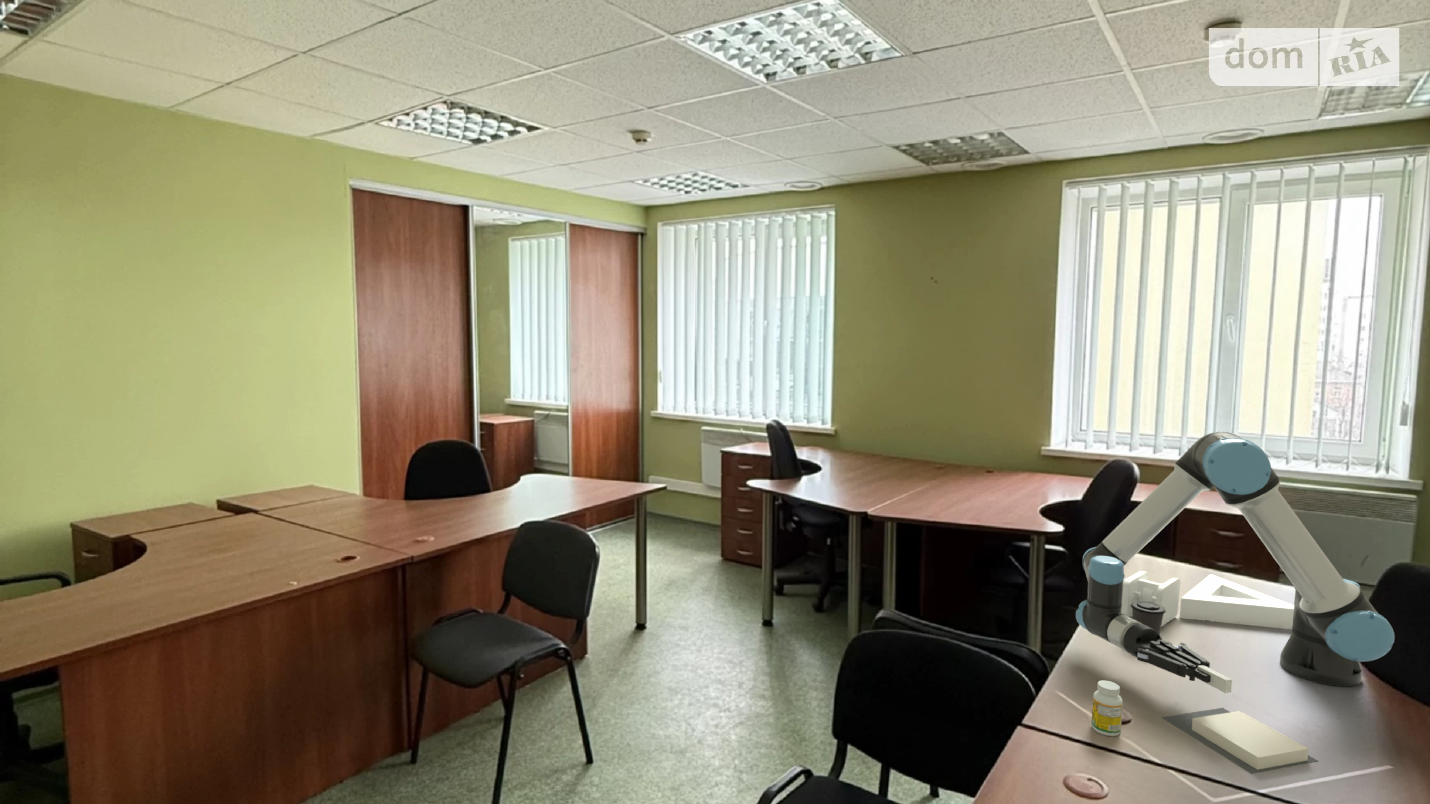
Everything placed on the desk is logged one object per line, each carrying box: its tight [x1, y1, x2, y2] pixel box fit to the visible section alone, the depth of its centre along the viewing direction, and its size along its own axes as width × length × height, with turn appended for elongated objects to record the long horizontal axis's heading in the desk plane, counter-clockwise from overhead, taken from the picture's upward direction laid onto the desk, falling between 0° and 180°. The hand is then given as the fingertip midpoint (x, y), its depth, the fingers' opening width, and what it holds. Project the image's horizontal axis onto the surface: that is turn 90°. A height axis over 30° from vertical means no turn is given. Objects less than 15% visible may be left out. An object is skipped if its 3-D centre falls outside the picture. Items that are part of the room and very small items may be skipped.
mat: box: [1161, 707, 1319, 775], centre depth 147 cm, size 20×16×1 cm
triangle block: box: [1179, 573, 1294, 630], centre depth 216 cm, size 30×26×6 cm
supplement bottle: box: [1091, 679, 1124, 737], centre depth 151 cm, size 5×5×10 cm
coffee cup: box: [1130, 601, 1166, 635], centre depth 193 cm, size 8×8×10 cm
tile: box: [1192, 710, 1309, 770], centre depth 145 cm, size 2×12×14 cm
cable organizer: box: [1121, 570, 1181, 628], centre depth 208 cm, size 15×11×12 cm
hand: (1228, 686), depth 149 cm, fingers closed
